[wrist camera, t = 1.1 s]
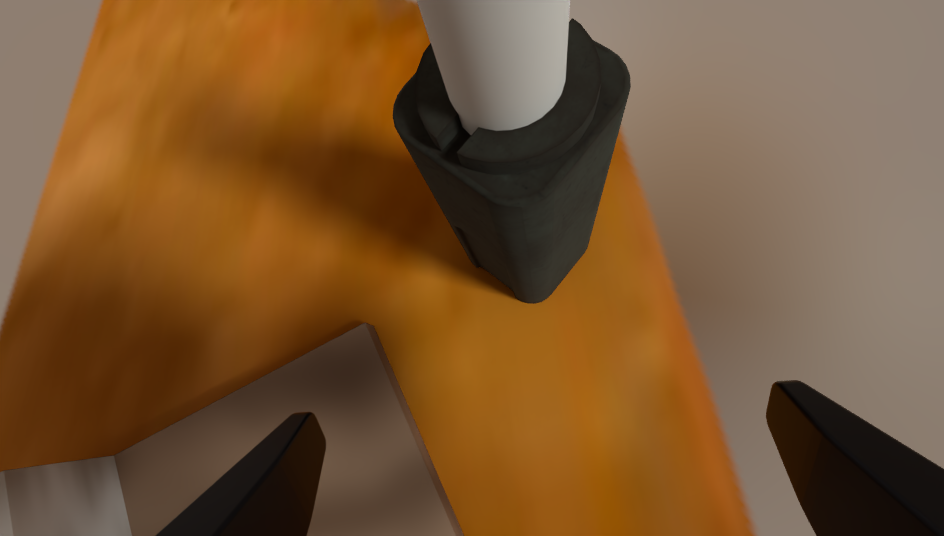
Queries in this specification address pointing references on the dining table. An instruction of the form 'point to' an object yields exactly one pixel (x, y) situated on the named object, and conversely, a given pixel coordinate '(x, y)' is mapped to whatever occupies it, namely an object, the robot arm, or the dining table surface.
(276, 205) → the dining table surface
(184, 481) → the shelf board
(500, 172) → the candle
